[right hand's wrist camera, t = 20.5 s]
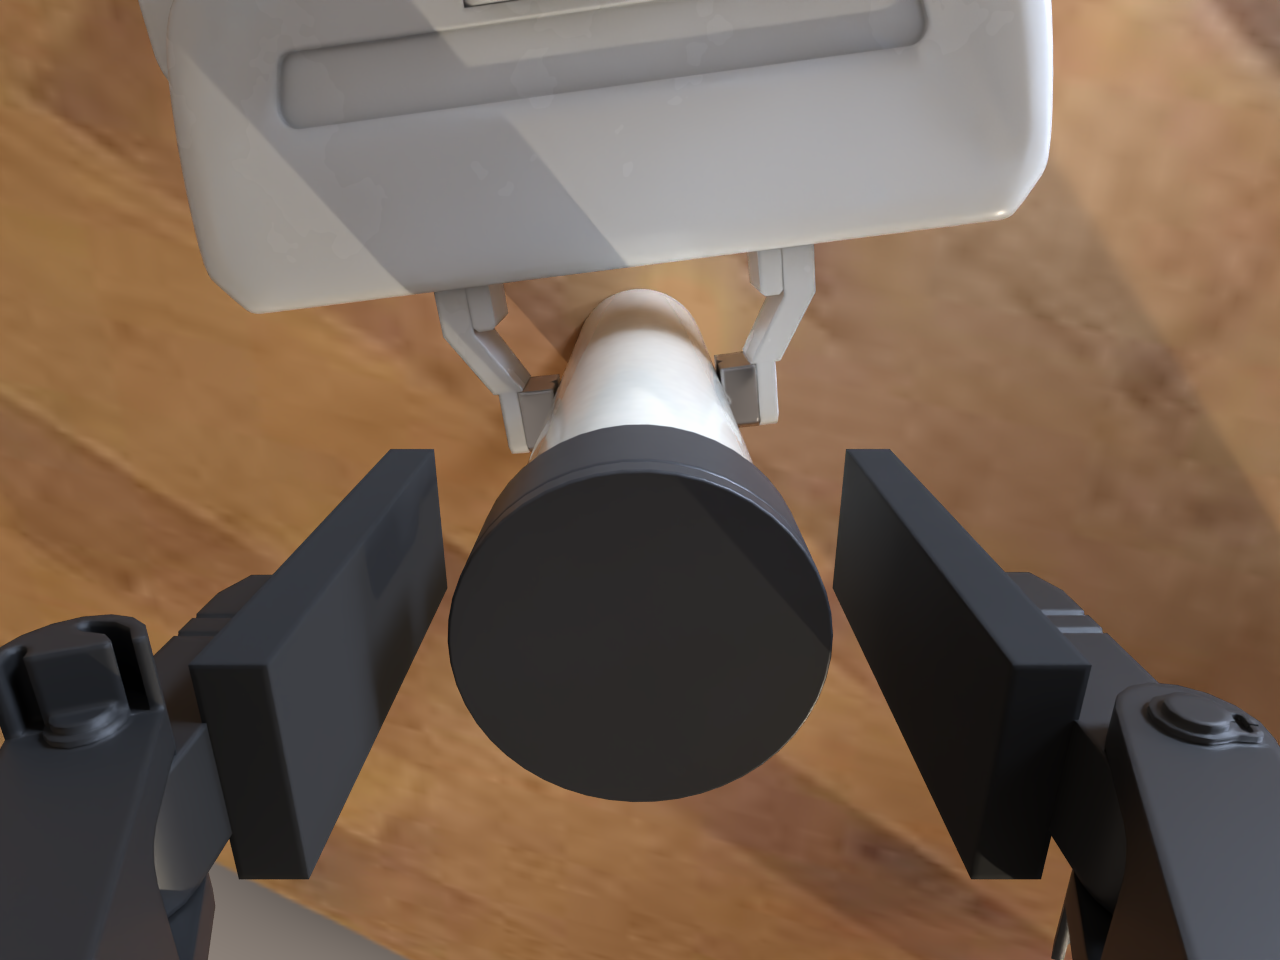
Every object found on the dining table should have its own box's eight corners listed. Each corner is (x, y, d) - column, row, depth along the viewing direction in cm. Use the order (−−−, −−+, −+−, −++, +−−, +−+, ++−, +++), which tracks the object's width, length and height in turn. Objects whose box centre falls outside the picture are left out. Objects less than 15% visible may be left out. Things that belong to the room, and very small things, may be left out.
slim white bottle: (610, 432, 29) (566, 792, 12) (555, 321, 28) (418, 548, 10) (721, 383, 29) (847, 689, 11) (672, 266, 27) (728, 414, 10)
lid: (495, 394, 11) (467, 437, 9) (841, 454, 11) (880, 507, 9) (461, 690, 13) (431, 776, 11) (761, 734, 13) (781, 825, 11)
